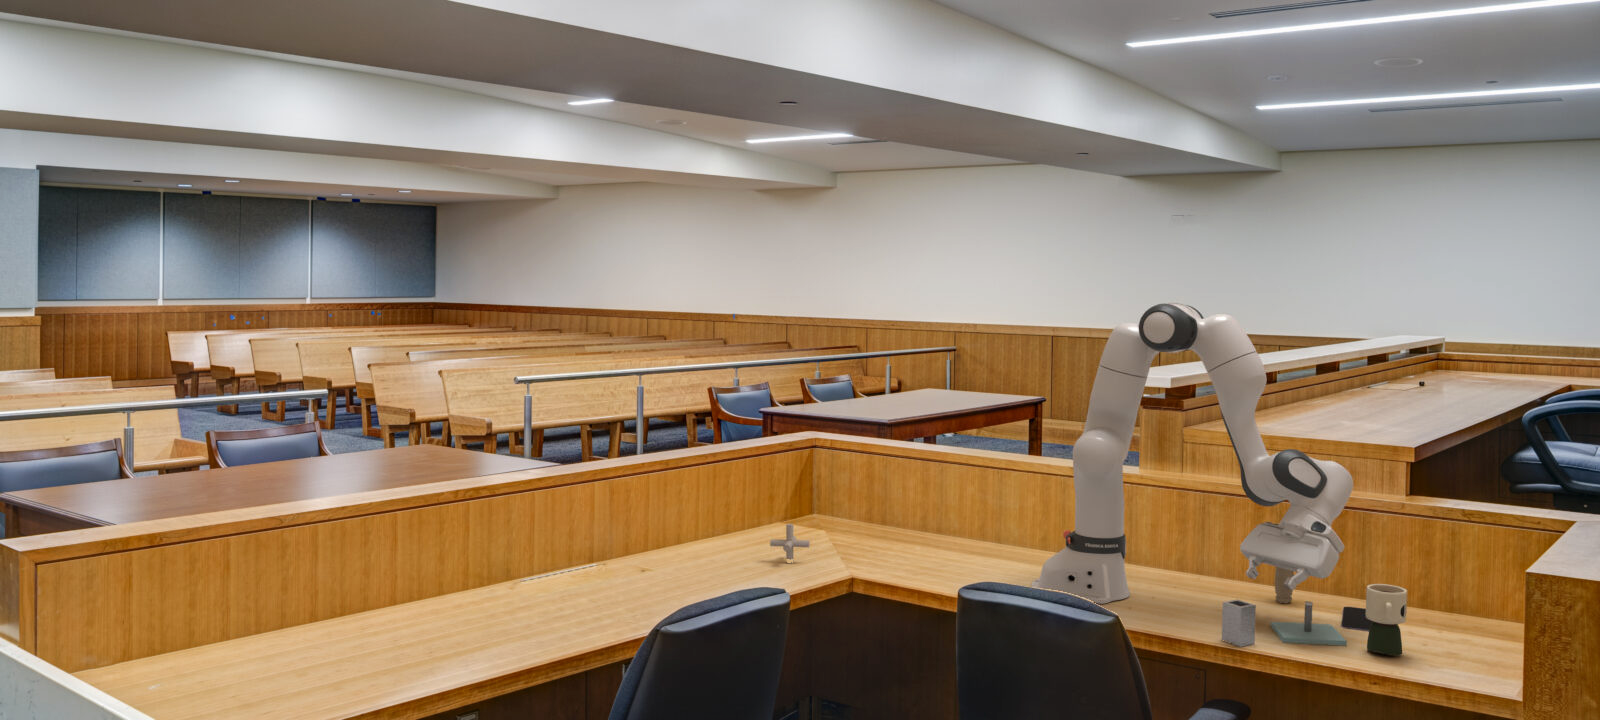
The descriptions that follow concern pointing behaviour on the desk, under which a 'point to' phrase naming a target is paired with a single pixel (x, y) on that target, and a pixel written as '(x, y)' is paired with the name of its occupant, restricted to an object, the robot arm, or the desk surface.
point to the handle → (1280, 588)
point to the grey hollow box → (1238, 622)
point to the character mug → (1385, 617)
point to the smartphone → (1355, 619)
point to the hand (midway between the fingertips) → (1268, 582)
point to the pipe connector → (789, 542)
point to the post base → (1308, 631)
